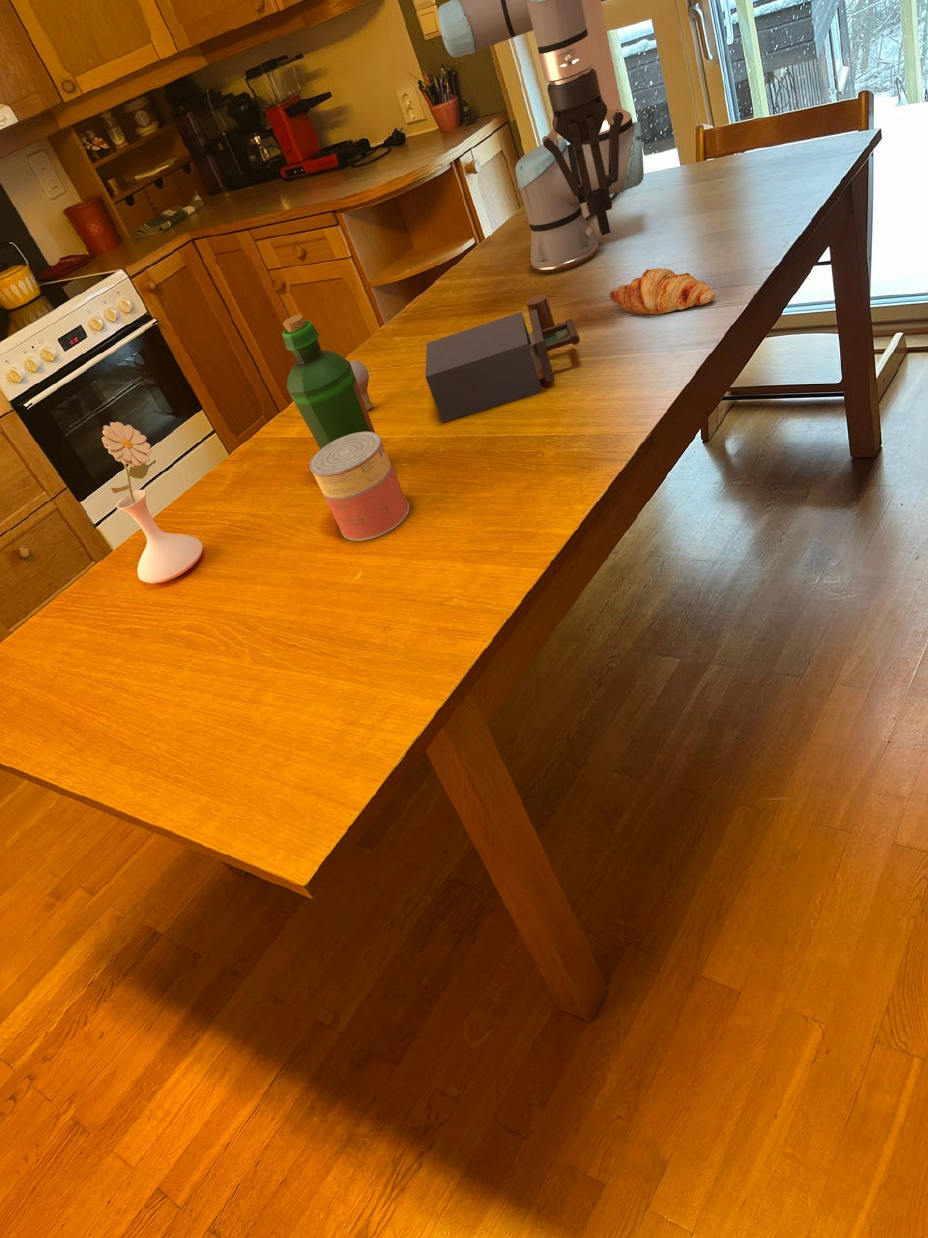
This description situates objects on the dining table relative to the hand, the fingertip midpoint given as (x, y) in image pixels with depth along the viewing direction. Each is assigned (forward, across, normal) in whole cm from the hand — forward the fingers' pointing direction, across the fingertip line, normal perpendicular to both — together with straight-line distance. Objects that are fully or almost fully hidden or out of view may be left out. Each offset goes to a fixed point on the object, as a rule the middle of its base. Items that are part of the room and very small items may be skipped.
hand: (605, 231), depth 149 cm
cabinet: (+18, -26, -5) cm, 32 cm away
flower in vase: (+18, -81, -34) cm, 89 cm away
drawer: (+17, -21, -5) cm, 27 cm away
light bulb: (+19, -50, +3) cm, 53 cm away
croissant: (+19, +8, +7) cm, 22 cm away
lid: (+19, -14, +10) cm, 25 cm away
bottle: (+18, -49, -23) cm, 57 cm away
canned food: (+18, -46, -38) cm, 62 cm away
